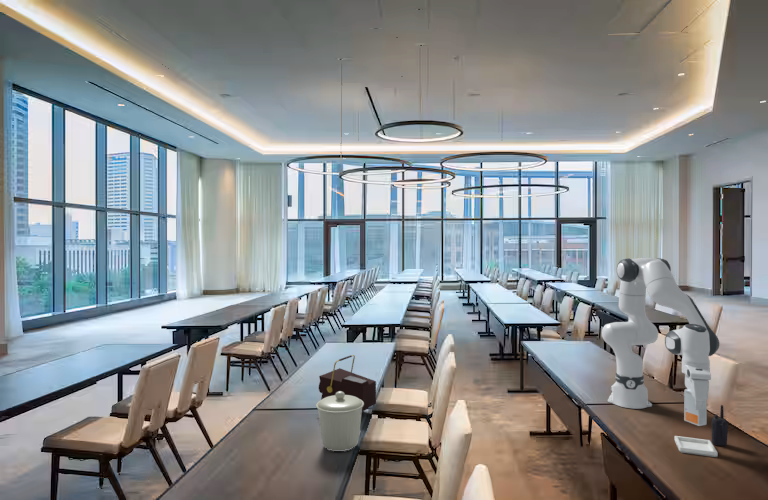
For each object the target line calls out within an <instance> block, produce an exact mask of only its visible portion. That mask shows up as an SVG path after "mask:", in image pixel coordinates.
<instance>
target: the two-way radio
mask: <svg viewBox="0 0 768 500" xmlns="http://www.w3.org/2000/svg"><path fill="white" fill-rule="evenodd" d="M719 415H720V417H719ZM719 415H718V414H714V417H712V419H711V443H712V445H713V446H714V445H715V446H727V445H728V431H729V430H728V429H729V427H728V426H729V425H728V420H727V419H726V418H724V417H725V415H724V405H723V404H720V414H719Z"/></svg>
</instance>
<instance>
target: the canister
mask: <svg viewBox="0 0 768 500" xmlns="http://www.w3.org/2000/svg"><path fill="white" fill-rule="evenodd" d="M363 406H364V402H363V401H362V400H361V399H359V398H357V397H355V396H351V395H345V394H344V392H342V391H338V392H337V393H336V394H335V395H333V396H328V397H326V398H323V399H322V400H321V399H320V400H319V401H317V403H316V404H315V407H316V408H317V411H318V412H317V413H318V421H319V429H320V435H321V441H322V445H323V447H324V446H325V447H326V448H328V449H332V450H345V449H350V448H352V447H354V448H356V447H357V445H358V443H359V440H360V431H361V423H362V422H361V421H362V414H363V412H362V407H363ZM355 446H356V447H355ZM325 447H324V448H325ZM326 448H325V449H326ZM328 449H327V450H328Z"/></svg>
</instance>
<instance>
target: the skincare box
mask: <svg viewBox="0 0 768 500" xmlns="http://www.w3.org/2000/svg"><path fill="white" fill-rule="evenodd" d="M683 394H684V395H683V397H684V398H683V400H684V401H683V402H684V406H683V407H684V408H683V409H684V411H683V413H684V414H683V416H684V417H683V420H684V422H687V423H689V424H692V425H695V426H698V427H701V426H706V425H707V417H708V416H707V412H708V411H707V409H708V408H707V405H708V404H707V401H708V400H707V401H702V405H701V410H696V409H695V398H694V397H693V396H692V394H691V392H690V390H689V389H687V388H686V389H685V388H684V393H683Z"/></svg>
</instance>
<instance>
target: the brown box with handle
mask: <svg viewBox="0 0 768 500" xmlns="http://www.w3.org/2000/svg"><path fill="white" fill-rule="evenodd" d="M352 357H353V358H352ZM355 357H356V355H354V354H352V355H348V356H344V357H342V358H339V359H337V360H336V361H335V362H334V364H333V370H332V371H329V372H326V373H323V374H321V375H319V376H318V377H319V383H318V391H319V393H321V398H320V400H322V399H323V398H326V397H328V396H333V395H335V394H336V393H337V392H338V391H342V392H344V394H345V395H351V396H355V397H357V398H359V399H361V400H362V401H363V402H364V406H363V407H362V413H363V412H365V411H366V410H367V409H369V408H370V407H373V406H374V405H375V404H377V382H376V380H374V379H370V378H369V377H368V378H367V377H365V376H363V375H361V374H357V373H355V372H353V370H354V363H355V359H356V358H355ZM349 358H352V364H351V370H350V371H348V370H346V369H344V368H340V367H339V368H337V369H336V364H337V363H338V362H342V361H344V360H347V359H349Z"/></svg>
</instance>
